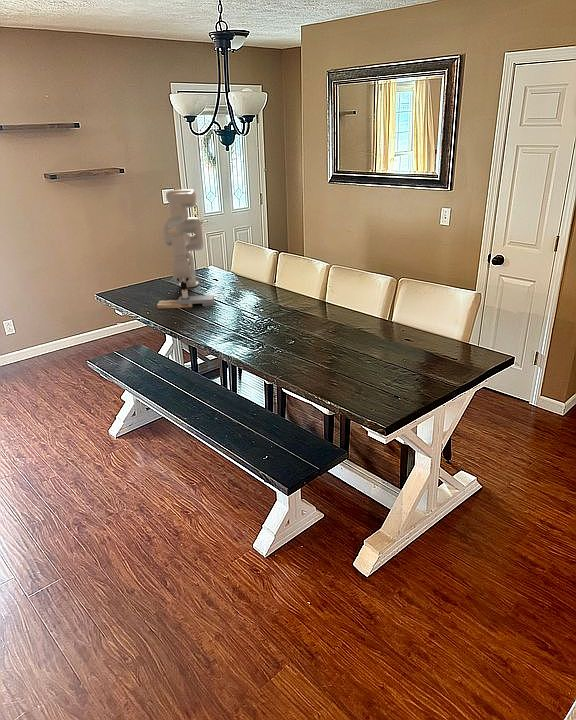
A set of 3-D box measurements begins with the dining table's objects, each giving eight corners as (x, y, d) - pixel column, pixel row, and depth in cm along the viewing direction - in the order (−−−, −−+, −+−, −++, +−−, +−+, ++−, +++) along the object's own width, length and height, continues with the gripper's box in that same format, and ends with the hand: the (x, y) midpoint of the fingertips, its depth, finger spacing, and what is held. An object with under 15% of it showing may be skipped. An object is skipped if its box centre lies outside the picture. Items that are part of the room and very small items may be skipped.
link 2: (180, 303, 318) (179, 296, 316) (214, 301, 318) (213, 295, 316) (178, 307, 311) (177, 301, 309) (213, 306, 311) (212, 299, 309)
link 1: (159, 304, 318) (159, 300, 317) (194, 302, 318) (193, 299, 317) (157, 308, 311) (156, 305, 310) (192, 307, 311) (191, 303, 310)
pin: (183, 304, 316) (182, 289, 312) (189, 303, 316) (187, 289, 312) (183, 306, 313) (181, 291, 309) (188, 305, 313) (186, 290, 309)
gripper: (194, 255, 306) (198, 286, 314) (168, 256, 306) (172, 287, 314) (192, 258, 299) (196, 290, 307) (165, 259, 299) (170, 291, 307)
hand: (184, 289), depth 310 cm, fingers closed
